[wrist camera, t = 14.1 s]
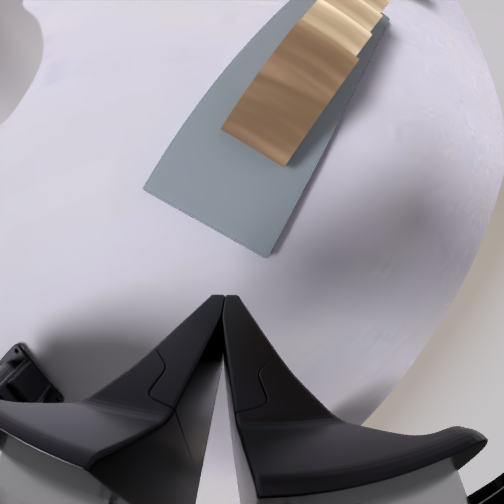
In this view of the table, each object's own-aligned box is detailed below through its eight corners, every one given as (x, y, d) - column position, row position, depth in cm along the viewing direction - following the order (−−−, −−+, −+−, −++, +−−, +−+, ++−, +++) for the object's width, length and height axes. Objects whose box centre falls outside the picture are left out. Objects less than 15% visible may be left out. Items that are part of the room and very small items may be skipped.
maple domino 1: (307, 124, 19) (372, 34, 15) (249, 87, 18) (319, -3, 14) (303, 124, 20) (364, 39, 17) (248, 90, 19) (314, 4, 16)
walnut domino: (283, 167, 19) (359, 59, 15) (220, 129, 17) (300, 18, 14) (280, 164, 20) (351, 63, 17) (221, 128, 19) (296, 25, 15)
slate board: (263, 256, 21) (267, 258, 20) (144, 190, 19) (142, 188, 18) (385, 22, 23) (389, 18, 22) (319, -23, 20) (322, -28, 19)
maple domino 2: (327, 89, 19) (382, 15, 16) (274, 54, 18) (335, -18, 14) (322, 91, 20) (375, 20, 17) (272, 59, 19) (330, -12, 16)
